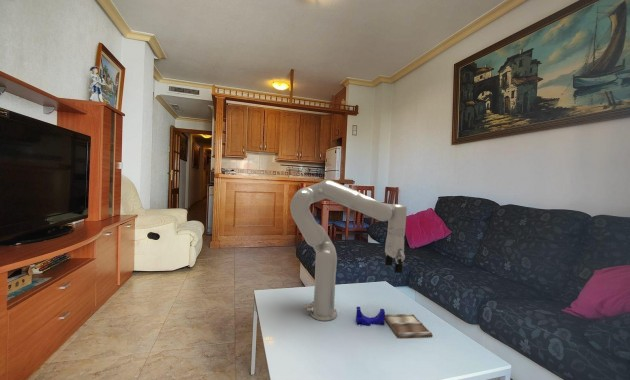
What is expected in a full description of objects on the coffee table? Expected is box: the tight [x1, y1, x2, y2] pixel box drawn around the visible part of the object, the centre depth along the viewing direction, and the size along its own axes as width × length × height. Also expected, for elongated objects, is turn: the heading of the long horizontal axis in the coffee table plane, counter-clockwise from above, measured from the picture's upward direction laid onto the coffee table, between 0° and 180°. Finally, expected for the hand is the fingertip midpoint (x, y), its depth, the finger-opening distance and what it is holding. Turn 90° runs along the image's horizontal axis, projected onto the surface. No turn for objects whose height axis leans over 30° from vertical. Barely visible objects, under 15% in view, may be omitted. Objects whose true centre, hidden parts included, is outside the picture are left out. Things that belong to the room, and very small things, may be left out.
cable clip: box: [355, 306, 386, 327], centre depth 115 cm, size 12×4×6 cm, turn 85°
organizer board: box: [384, 313, 433, 339], centre depth 114 cm, size 15×15×2 cm
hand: (393, 268), depth 119 cm, fingers open, 9 cm apart
